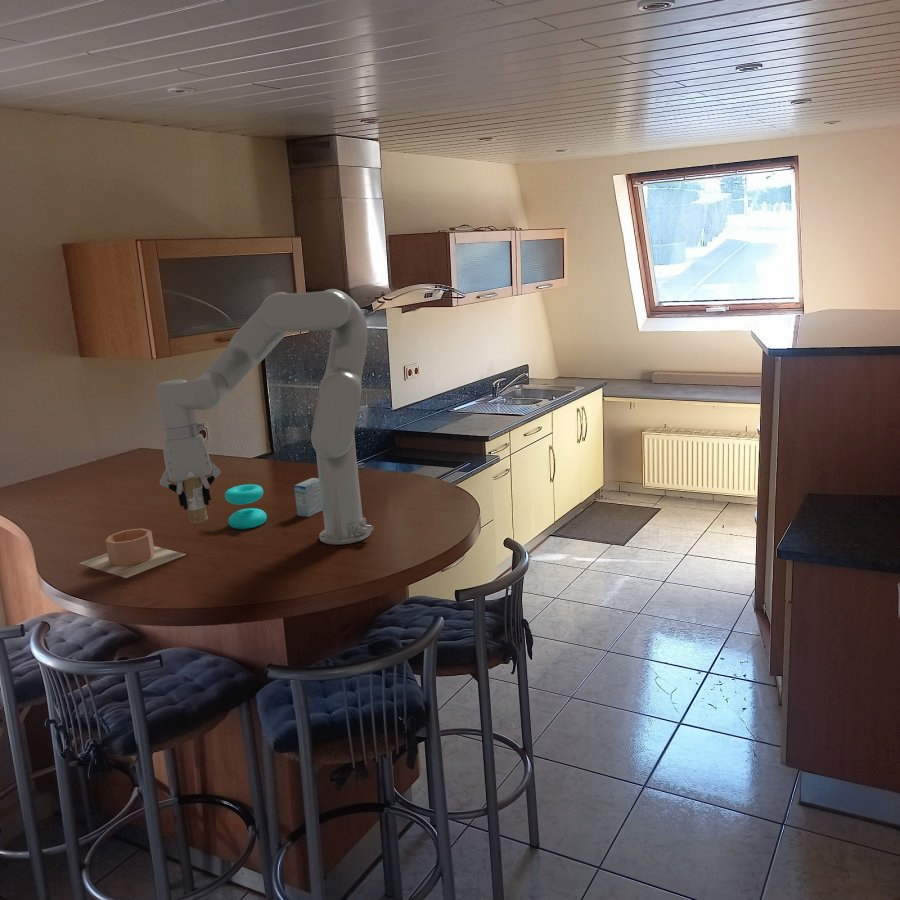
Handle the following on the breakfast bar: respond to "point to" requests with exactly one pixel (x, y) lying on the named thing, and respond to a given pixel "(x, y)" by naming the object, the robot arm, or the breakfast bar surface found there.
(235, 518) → the donuts
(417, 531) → the breakfast bar surface
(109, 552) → the terracotta octagonal bowl
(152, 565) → the birch board
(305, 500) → the medicine box
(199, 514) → the spice jar
